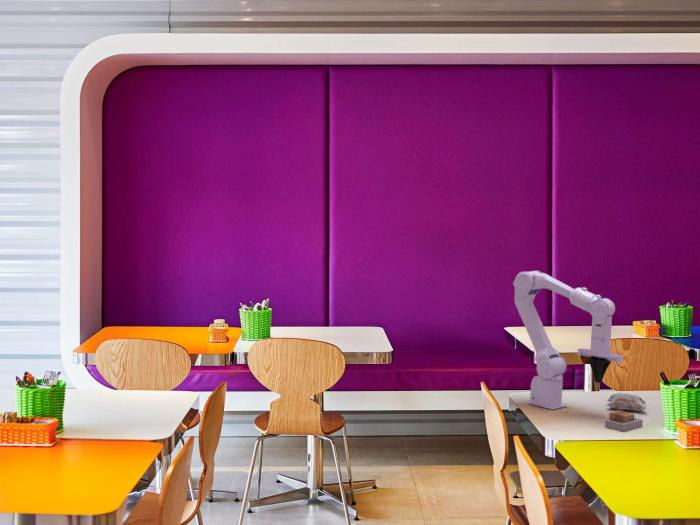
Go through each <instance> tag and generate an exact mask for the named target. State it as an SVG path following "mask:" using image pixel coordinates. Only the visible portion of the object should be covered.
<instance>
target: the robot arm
mask: <svg viewBox="0 0 700 525" xmlns="http://www.w3.org/2000/svg"><path fill="white" fill-rule="evenodd" d="M512 284H513V286H514V301H513V302H514V305H515V307H516V309H517V311H518V314H519V317H520V318H521V320H522V322H523V323H522V324H524V327H525V329H526V331H527V334H528V336H529V339H530V341H531V343H532V346H533V348H534V350H535V356H534V361H535V363H536V373H537V375H536V376H535V375H534V376H533V378H532V380H531V383H530V395H529V398H530V399H529V401H528V404H530V405H535V406H537V407H540V408H541V407H542V408H545V409H549V410H557V409H561V408H565V407H568V406H567V404H565V403H562V397H563V382H564V377H563V374H564V373H565V372H566V371H567V366H568V365H567V362H566V361H565V359H564V358H563V357H562V356H561V355H560V353H559V351H558V350H557V349H556V348H554V347H553V345H552V343H551V341H550V339H549V336H548V333H547V331H546V329H545V327H544V325H543V322H542V320H541V318H540V316H539V313H538V311H537V309H536V306H535V305H534V299H535V297H536V296H537V294H538V292H540V291H541V289H547V290H549V291H552V292H554V293H556V294H559V295H560V296H563V297H566V298H568V299H569V301H570V302H569V303H570V304H571V305H573V306H575V307H576V308H580V309H581V310H583V311H585V312H587V313H589V314H590V315H591V317H592V320H591V321H592V322H591V333H590V334H591V336H590V349H587V348H577V356H583V357H584V356H585V357H590V358H588V359H587V362H588V363H589V366H590V367H591V371H592V375H593V380H594V383H602V382H603V381H604V380H603V379H604V378H605V377H604V376H605V374H606V371H607V370H608V368H609V366H610V364H612V362H616V363H617V364H620V363H621V364H622V363H624V355H621V354H616V353H612V352H611V342H612V341H611V339H612V326H613V325H612V320H613V319H612V318H613V315H614V314H615V312H616V305H615V302H613V301H612V300H611V299H610V298H609V297H608V298H607V297H603V298H602V296H601V295H600V294H595V293H593V292H590V291H588V288H586V287H585V286H584V287H576V288H573V287H571V286H569V285H568V284H566V283H563V282H562V281H560V280H558V279H557V278H555V277H553V276H551V275H550V274H547V273H544V272H541V271H540V270H532V271H520V272H519V273H518V274H517V275H516V276H515V278H514V281H513V282H512Z"/></svg>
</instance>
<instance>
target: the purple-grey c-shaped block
mask: <svg viewBox="0 0 700 525" xmlns="http://www.w3.org/2000/svg"><path fill="white" fill-rule="evenodd" d="M643 422H644V420H643V419H641V418H637V417H634V420H633V421H629V422H626V423H619V422H615V421H611V420H609V419H605V421H604V428H608V429H610V430H614V429H615V431H618V432H623V433H624V432H628V431H631V430H634V429H638V428H641V427H643Z"/></svg>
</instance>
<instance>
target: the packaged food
mask: <svg viewBox="0 0 700 525" xmlns="http://www.w3.org/2000/svg"><path fill="white" fill-rule="evenodd" d="M646 404H647V402H646V401H645V400H644V399H642V397H640V396H639V395H637V394H636V395H635V394H629V393H623V392H622V393H620V392H619V393H614V394H612V395H610V396H609V398H607V403H606V404H605V406H610V407H611V408H612V409H615V410H620V411H624V412H640V411H642V410H646V408H647V406H646Z"/></svg>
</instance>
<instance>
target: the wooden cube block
mask: <svg viewBox="0 0 700 525" xmlns="http://www.w3.org/2000/svg"><path fill="white" fill-rule="evenodd" d="M634 418H635V413H631V412H629V411H624V410H619V409H617V410H614V411H610V412H609V418H608V420H611V421H615V422H619V423H626V422H629V421H633V420H634Z"/></svg>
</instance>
